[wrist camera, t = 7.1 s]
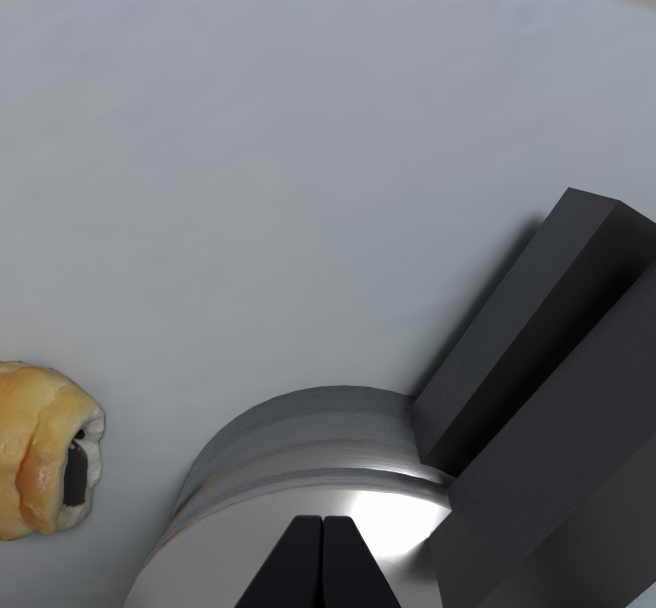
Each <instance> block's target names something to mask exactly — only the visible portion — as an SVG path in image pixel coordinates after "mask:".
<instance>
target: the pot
mask: <svg viewBox="0 0 656 608" xmlns="http://www.w3.org/2000/svg"><path fill="white" fill-rule="evenodd" d="M655 259H656V223H654V222H653V221H651V220H650V219H648V218H647V217H645V216H643V215H642V214H640V213H639V212H637V211H636V210H634V209H632V208H631V207H629V206H628V205H626V204H625V203H623V202H621V201H620V200H616V199H613V198H609V197H605V196H601V195H597V194H593V193H589V192H585V191H581V190H578V189H574V188H570V187H568V189H567V190H566V192H565V193H564V194H563V196H562V197H561V199H560V200H559V201H558V203H557V204H556V206H555V207H554V208H553V210H552V211H551V213H550V214H549V215H548V217H547V218H546V220H545V221H544V222H543V224H542V225H541V227H540V228H539V229H538V231H537V232H536V234H535V235H534V236H533V238H532V239H531V241H530V242H529V243H528V245H527V246H526V247H525V249H524V250H523V252H522V253H521V254H520V256H519V257H518V259H517V260H516V261H515V263H514V264H513V266H512V267H511V268H510V270H509V271H508V273H507V274H506V275H505V277H504V278H503V280H502V281H501V282H500V284H499V285H498V287H497V288H496V289H495V291H494V292H493V294H492V295H491V296H490V298H489V299H488V301H487V302H486V303H485V305H484V306H483V308H482V309H481V310H480V312H479V313H478V315H477V316H476V317H475V319H474V320H473V322H472V323H471V324H470V326H469V327H468V329H467V330H466V331H465V333H464V334H463V336H462V337H461V338H460V340H459V341H458V343H457V344H456V345H455V347H454V348H453V350H452V351H451V352H450V354H449V355H448V357H447V358H446V359H445V361H444V362H443V364H442V365H441V366H440V368H439V369H438V371H437V372H436V373H435V375H434V376H433V378H432V379H431V380H430V382H429V383H428V385H427V386H426V387H425V389H424V390H423V392H422V393H421V394H420V396H419V397H418V399H415V398H412V397H409V396H406V395H402V394H399V393H396V392H393V391H388V390H382V389H377V388H371V387H362V386H346V385H342V386H323V387H315V388H310V389H304V390H298V391H294V392H291V393H288V394H284V395H281V396H278V397H274V398H272V399H270V400H268V401H265V402H263V403H261V404H259V405H256V406H254V407H252V408H251V409H249V410H247V411H246V412H244V413H243V414H241V415H239V416H238V417H236V418H235V419H233V420H232V421H231V422H230V423H228V424H227V425H226V426H225V427H224V428H222V429H221V430H220V431H219V432H218V433H217V434H216V435H215V436H214V437H213V438H212V439H211V440H210V442H209V443H208V444H207V445H206V446H205V447H204V449H203V450H202V452H201V453H200V455H199V456H198V458H197V459H196V461H195V463H194V465H193V467H192V469H191V471H190V473H189V475H188V477H187V480H186V482H185V484H184V487H183V489H182V491H181V493H180V496H179V498H178V500H177V502H176V505H175V507H174V509H173V512H172V514H171V516H170V518H169V521H168V523H167V525H166V527H165V530H164V532H163V534H162V537H161V539H162V538H163V536H164V535H165V534H166V533H167V532H168V531H169V530H170V529H172V528H173V527H174V526H175V525H176V524H177V523H178V522H179V521H181V520H182V519H183V518H184V517H185V516H186V515H188V514H189V513H191V512H192V511H194V510H195V509H197V508H198V507H200V506H201V505H203V504H204V503H206V502H207V501H209V500H211V499H213V498H215V497H217V496H219V495H221V494H223V493H226V492H228V491H230V490H232V489H234V488H236V487H239V486H242V485H245V484H248V483H251V482H253V481H256V480H259V479H262V478H265V477H270V476H275V475H279V474H284V473H288V472H293V471H299V470H309V469H319V468H368V469H376V470H385V471H393V472H398V473H402V474H407V475H411V476H415V477H419V478H424V479H427V480H430V481H433V482H436V483H439V484H441V485H444V486H447V487H450V486H451V484H452V483H453V482H454V481H455V480H456V479H457V478H458V477H459V476H460V475H461V473H462V472H463V471H464V470H465V469H466V468H467V467H468V466H469V465H470V463H471V462H472V461H473V460H474V459H475V458H476V457H477V456H478V455H479V454H480V452H481V451H482V450H483V449H484V448H485V447H486V446H487V445H488V444H489V443H490V441H491V440H492V439H493V438H494V437H495V436H496V435H497V434H498V433H499V431H500V430H501V429H502V428H503V427H504V426H505V425H506V424H507V423H508V422H509V420H510V419H511V418H512V417H513V416H514V415H515V414H516V413H517V412H518V411H519V409H520V408H521V407H522V406H523V405H524V404H525V403H526V402H527V401H528V399H529V398H530V397H531V396H532V395H533V394H534V393H535V392H536V391H537V390H538V388H539V387H540V386H541V385H542V384H543V383H544V382H545V381H546V380H547V379H548V377H549V376H550V375H551V374H552V373H553V372H554V371H555V370H556V369H557V367H558V366H559V365H560V364H561V363H562V362H563V361H564V360H565V359H566V358H567V356H568V355H569V354H570V353H571V352H572V351H573V350H574V349H575V348H576V346H577V345H578V344H579V343H580V342H581V341H582V340H583V339H584V338H585V337H586V335H587V334H588V333H589V332H590V331H591V330H592V329H593V328H594V327H595V326H596V324H597V323H598V322H599V321H600V320H601V319H602V318H603V317H604V316H605V314H606V313H607V312H608V311H609V310H610V309H611V308H612V307H613V306H614V305H615V303H616V302H617V301H618V300H619V299H620V298H621V297H622V296H623V295H624V294H625V292H626V291H627V290H628V289H629V288H630V287H631V286H632V285H633V284H634V282H635V281H636V280H637V279H638V278H639V277H640V276H641V275H642V274H643V273H644V271H645V270H646V269H647V268H648V267H649V266H650V265H651V264H652V263H653V262H654V260H655ZM161 539H160V540H161Z"/></svg>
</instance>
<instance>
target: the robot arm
mask: <svg viewBox="0 0 656 608" xmlns="http://www.w3.org/2000/svg"><path fill="white" fill-rule="evenodd" d="M234 608H402V607H401V605H400V603H399V602H398V600H397V598H396V596H395V594H394V593H393V591H392V589H391V587H390V585H389V584H388V582H387V580H386V578H385V576H384V574H383V573H382V571H381V569H380V567H379V565H378V564H377V562H376V560H375V558H374V556H373V555H372V553H371V551H370V549H369V547H368V546H367V544H366V542H365V540H364V538H363V537H362V535H361V533H360V531H359V529H358V528H357V526H356V524H355V522H354V520H353V519H352V518H351V517H350V516H333V515H328V516H326V517H325V518H324V520H323V519H322V517H321V516H319V515H297V516H295V517H294V518H293V519H292V521H291V522H290V524H289V525H288V527H287V528H286V530H285V531H284V533H283V534H282V536H281V537H280V539H279V540H278V542H277V543H276V545H275V546H274V548H273V549H272V551H271V552H270V554H269V555H268V557H267V558H266V560H265V561H264V563H263V564H262V566H261V567H260V569H259V570H258V572H257V573H256V575H255V576H254V578H253V579H252V581H251V582H250V584H249V585H248V587H247V588H246V590H245V591H244V593H243V594H242V596H241V597H240V599H239V600H238V602H237V603H236V605H235V606H234Z"/></svg>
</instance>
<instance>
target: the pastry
mask: <svg viewBox="0 0 656 608" xmlns="http://www.w3.org/2000/svg"><path fill="white" fill-rule="evenodd" d="M104 416H105V414H104V412H103V410H102V408H101V407H100V405H99V404H98V403H97V401H96V400H95V399H94V398H93V397H91V396H90V395H89V394H88V393H86V392H85V391H84V390H83V389H82V388H80V387H79V386H78V385H77V384H76V383H75V382H73V381H72V380H71V379H69V378H68V377H66V376H65V375H63V374H61V373H60V372H58V371H56V370H54V369H52V368H45V367H39V366H33V365H29V364H25V363H22V361H8V362H2V361H0V540H2V541H11V540H17V539H20V538H23V537H25V536H27V535H29V534H31V533H33V532H34V531H37V530H38V531H40V532H41V533H43V534H44V535H47V536H49V535H52V534H54V533H56V532H58V531H62V530H67V529H69V528H71V527H73V526H74V525H77V524H80V523H81V522H82V521H83V520H84V518H85V517H86V516H87V515H88V514H89V512H90V510H91V506H92V495H93V492H94V490H95V489H94V486H95V485H96V484H97V483H98V482H99V480H100V477H101V471H102V463H101V452H100V448H99V445H98V441H99V439H100V438H101V437H102V434H103V432H104Z"/></svg>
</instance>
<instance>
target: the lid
mask: <svg viewBox="0 0 656 608" xmlns="http://www.w3.org/2000/svg"><path fill="white" fill-rule="evenodd" d="M297 515H319V516H321V517H322V519H323V520H324V518H325V517H326V516H328V515H333V516H350V517H351V518H352V519H353V520H354V522H355V524H356V526H357V528H358V529H359V531H360V533H361V535H362V537H363V538H364V540H365V542H366V544H367V546H368V547H369V549H370V551H371V553H372V555H373V556H374V558H375V560H376V562H377V564H378V565H379V567H380V569H381V571H382V573H383V574H384V576H385V578H386V580H387V582H388V584H389V585H390V587H391V589H392V591H393V593H394V594H395V596H396V598H397V600H398V602H399V603H400V605H401V607H402V608H625V607H626V606H628V605H629V604H630V603H631V602H632V601H633V600H635V599H636V598H637V597H638V596H639V595H640V594H642V593H643V592H644V591H645V590H646V589H647V588H649V587H650V586H651V585H652V584H653V583H654V582H656V259H655V260H654V262H653V263H652V264H651V265H650V266H649V267H648V268H647V269H646V270H645V271H644V273H643V274H642V275H641V276H640V277H639V278H638V279H637V280H636V281H635V282H634V284H633V285H632V286H631V287H630V288H629V289H628V290H627V291H626V292H625V294H624V295H623V296H622V297H621V298H620V299H619V300H618V301H617V302H616V303H615V305H614V306H613V307H612V308H611V309H610V310H609V311H608V312H607V313H606V314H605V316H604V317H603V318H602V319H601V320H600V321H599V322H598V323H597V324H596V326H595V327H594V328H593V329H592V330H591V331H590V332H589V333H588V334H587V335H586V337H585V338H584V339H583V340H582V341H581V342H580V343H579V344H578V345H577V346H576V348H575V349H574V350H573V351H572V352H571V353H570V354H569V355H568V356H567V358H566V359H565V360H564V361H563V362H562V363H561V364H560V365H559V366H558V367H557V369H556V370H555V371H554V372H553V373H552V374H551V375H550V376H549V377H548V379H547V380H546V381H545V382H544V383H543V384H542V385H541V386H540V387H539V388H538V390H537V391H536V392H535V393H534V394H533V395H532V396H531V397H530V398H529V399H528V401H527V402H526V403H525V404H524V405H523V406H522V407H521V408H520V409H519V411H518V412H517V413H516V414H515V415H514V416H513V417H512V418H511V419H510V420H509V422H508V423H507V424H506V425H505V426H504V427H503V428H502V429H501V430H500V431H499V433H498V434H497V435H496V436H495V437H494V438H493V439H492V440H491V441H490V443H489V444H488V445H487V446H486V447H485V448H484V449H483V450H482V451H481V452H480V454H479V455H478V456H477V457H476V458H475V459H474V460H473V461H472V462H471V463H470V465H469V466H468V467H467V468H466V469H465V470H464V471H463V472H462V473H461V475H460V476H459V477H458V478H457V479H456V480H455V481H454V482H453V483H452V484H451V486H450V487H447V486H444V485H441V484H439V483H436V482H433V481H430V480H427V479H424V478H419V477H415V476H411V475H407V474H402V473H398V472H393V471H385V470H376V469H368V468H319V469H309V470H299V471H293V472H288V473H284V474H279V475H275V476H270V477H265V478H262V479H259V480H256V481H253V482H251V483H248V484H245V485H242V486H239V487H236V488H234V489H232V490H230V491H228V492H226V493H223V494H221V495H219V496H217V497H215V498H213V499H211V500H209V501H207V502H206V503H204V504H203V505H201V506H200V507H198V508H197V509H195V510H194V511H192V512H191V513H189V514H188V515H186V516H185V517H184V518H183V519H182V520H181V521H179V522H178V523H177V524H176V525H175V526H174V527H173V528H172V529H170V530H169V531H168V532H167V533H166V534H165V535H164V536H163V538H162V539H161V540H160V541H159V542H158V544H157V545H156V546H155V547H154V549H153V550H152V551H151V552H150V554H149V555H148V557H147V559H146V561H145V562H144V564H143V566H142V567H141V569H140V571H139V573H138V575H137V577H136V579H135V581H134V583H133V586H132V588H131V590H130V592H129V594H128V597H127V599H126V601H125V604H124V606H123V608H234V606H235V605H236V603H237V602H238V600H239V599H240V597H241V596H242V594H243V593H244V591H245V590H246V588H247V587H248V585H249V584H250V582H251V581H252V579H253V578H254V576H255V575H256V573H257V572H258V570H259V569H260V567H261V566H262V564H263V563H264V561H265V560H266V558H267V557H268V555H269V554H270V552H271V551H272V549H273V548H274V546H275V545H276V543H277V542H278V540H279V539H280V537H281V536H282V534H283V533H284V531H285V530H286V528H287V527H288V525H289V524H290V522H291V521H292V519H293V518H294V517H295V516H297Z"/></svg>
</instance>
